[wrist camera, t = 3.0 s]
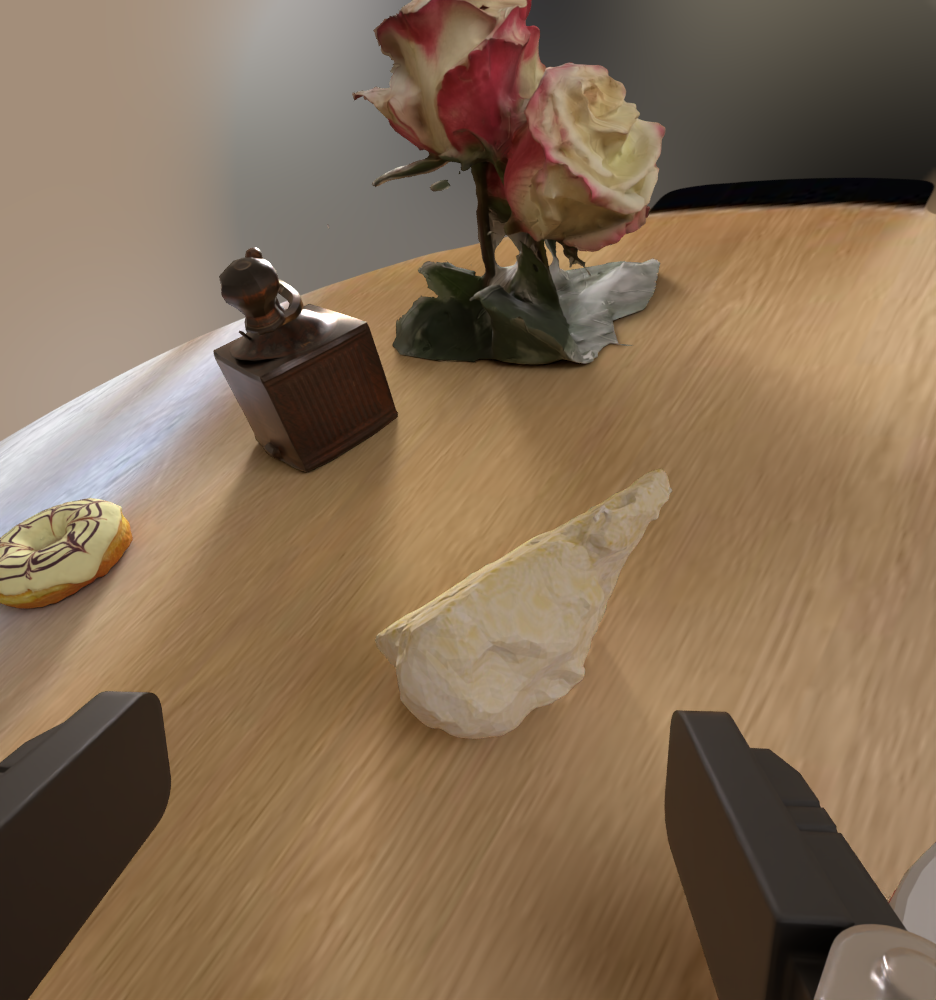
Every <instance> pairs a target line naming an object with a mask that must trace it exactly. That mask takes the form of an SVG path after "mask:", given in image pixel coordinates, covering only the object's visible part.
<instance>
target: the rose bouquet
mask: <svg viewBox="0 0 936 1000" xmlns="http://www.w3.org/2000/svg"><path fill="white" fill-rule="evenodd" d="M530 7H531V0H412V2H410V3H408V4H407V5H406V6H404V7H402V9H401V10H399V14H396V15H397V16H396V15H395V16H393V17H392V16H390V17H389V18H388V19H384V21H383V22H382V23H381V24H380V25H379V26H378V27H377V28H376V29H374V32H375V36H376V39H377V40H378V44H379V46H380V45H381V51H382V53H383V54H384V55H387V56H389V57H390V58H391V60H394V64H393V65H394V66H393V67H392V69H391V71H390V72H392V73H393V75H392V76H391V80H390V83H389V85H390V88H382V89H380V88H378V87H374V88H373V89H371V90H368V91H360V92H357V93H356V94H355V93H354V94H352V95H353V98H354V100H356V99H357V98H359V97H362V96H364V99H365V100H368V101H370V102H371V103H373V104H374V105H375V107H376V108H377V109H378V110H379V111H380V112H381V113H382V114H383V115H384V116H385V117H386V118H387V119H388V120H389V123H390V125H391V126H392V128H393V129H394V130H395V131H396V132H397V133H399V134H400V135H401V136H403V137H404V138H406V139H407V140H409V141H410V142H411V143H413V144H414V145H415V146H417V147H418V148H419V150H427V151H428V152H429V156H428V158H426V159H424V160H419V161H416V162H413V163H411V164H409V165H407V166H402V167H398V168H396V169H394V170H391V171H389V172H387V173H386V174H384V175H382V176H380V177H379V178H377V179H376V180H375V181H374V182H373V183H372V185H373V186H375V187H376V186H379V185H381V184H383V183H385V182H387V181H389V180H395V179H400V178H405V177H412V176H416V175H420V174H426V173H430V172H433V171H435V170H437V169H439V168H440V167H443V166H444V165H446V164H447V163H448V162H457V163H461V170H462V171H466V170H468V169H469V168H470V167H471V173H472V175H473V178H474V181H475V184H476V195H477V199H478V207H477V211H476V213H477V214H476V215H477V223H478V239H479V242H480V245H481V252H482V259H483V262H484V264H485V269H486V272H485V274H484V275H483V276H482V277H479V276H475V271H471V270H467V269H462V268H458V267H455V266H454V265H452V264H451V263H449V262H447V263H446V262H443V263H440V262H437V263H434V262H430V261H428V262H425V263H424V264H423V266H422V268H419V270H418V272H419V273H421V274H423V275H424V277H425V278H426V281H427V284H428V288H429V289H431V290H432V291H434V292H435V293H436V295H438V297H437V298H434V297H432V298H431V297H422V295H421V297H420V298H418V300H417V301H415V302H414V303H413V306H412V307H411V308H410V309H409V311H408V312H407V313H406V314H405V315H402V318H401V317H400V319H399V321H398V319H397V321H396V339H395V341H394V343H393V347H394V348H396V349H397V351H398V352H399V354H402V355H408V356H414V357H420V358H426V359H432V360H459V361H472V362H474V361H475V360H477V359H479V358H481V359H497V360H500V361H503V362H510V363H518V364H547V363H551V362H555V361H558V360H561V359H565V360H569V361H573V362H577V363H590V362H593V359H594V358H596V357H597V356H598V352H599V351H601V349H602V347H604V346H606V345H608V344H610V343H613V344H618V341H617V338H616V335H615V332H614V326H613V320H615V319H618V318H621V317H624V316H626V315H629V314H632V313H635V312H638V311H640V310H643V309H644V308H645V307H646V305H647V304H648V302H649V299H650V298H651V297H652V296H653V294H654V293H653V292H654V291H655V290H654V289H655V288H656V287H655V286H656V282H655V281H657V275H658V274H657V273H658V271H659V265H660V262H658V261H657V260H655V259H651V260H648V261H646V262H644V263H636V262H625V261H621V262H611V263H606V264H603V265H598V266H592V267H586V268H585V262H583V261H582V260H580V259H579V258H578V256H577V251H578V250H579V251H591V252H594V251H598V250H600V249H601V248H603V247H605V246H608V245H612V244H615V243H617V242H619V241H620V239H621V238H622V237H623V236H624V235H625V234H628V233H632V232H634V231H636V230H638V229H639V228H640V227H641V226H643V225H644V224H645V223H646V218H647V217H648V215H649V213H648V212H649V209H650V207H648V206H646V205H647V204H648V203H649V202H650V197H651V194H652V192H653V189H654V186H655V184H656V182H657V179H658V172H659V168H657V166H656V161H657V159H658V158H659V156H660V153H661V140H662V138H663V136H664V134H665V127H664V126H662V125H660V124H659V123H655V122H646V121H643V120H640V119H637V118H638V116H639V115H640V113H639V112H638V111H637V110H636V105H635V104H633V103H626V102H625V101H624V98H625V94H626V90H625V88H624V86H623V84H622V83H621V82H618V81H615V80H613V79H612V78H611V77H609V75H608V70H607V69H606V68H604V67H602V66H599V65H576V64H573V63H566V64H564V65H561V66H558V67H548V68H546V67H545V65H543V64H542V63H541V61H540V58H539V53H538V45H539V42H538V41H539V38H540V30H539V29H538V28H537V27H536V26H526V23H525V20H526V18H527V16H528V14H529V11H530ZM459 174H460V171H459ZM447 181H448V180H441V181H439V182H436V183H434V184H432V185H431V187H430V188H431V190H432V191H441V190H444V189H447V188H449V186H450V184H449V183H448V182H447ZM327 226H328V228H329V225H327ZM505 235H507V236H508V237H509V238H510V239H511V240H512V241H513V243H514V244H515V246H516V247H517V248H518V250H519V252H520V253H519V255H517V256H516V258H517V261H516V263H515V265H513V266H509V267H500V266H499V265H497V263H496V261H495V256H494V252H495V249H496V247H497V246H498V245H499V243H500V242H501V241H502V239H503V238H504V236H505ZM544 241H545V244H546V246H547V248H548V249H549V250H550V252H551V253H552V255H553V262H552V264H551V265H550V266H548V259H547V256H546V249H545V247H544ZM556 241H557V242H558V243H560V244H561V245H562V246H563V248H564V250H563V252H564V255H565V256H566V257H567V258H569V262H570V267H571V266H572V264H576V263H578V264H580V265H581V266H583V267H584V268H579V269H573V270H567V271H564V270H562V269H560V268H559V260H558V258H557V257H556ZM445 261H446V260H445ZM618 345H624V344H618ZM624 346H632V345H624Z"/></svg>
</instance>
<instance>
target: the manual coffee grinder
mask: <svg viewBox="0 0 936 1000" xmlns="http://www.w3.org/2000/svg"><path fill="white" fill-rule="evenodd" d="M219 278H220V282H221V291H222V292H221V294H222V297H223V298H224V300H225V301H226V303H228V304H229V305H231V306H233V307H235V308H237V309H238V310H239V311H240V312H242V313H243V314H244V315H245V317H246V318H245V328H246V331H247V333H246V334H245V333H244V332H242V331H239V333H240V334H241V335H242V337H240V338H238V339H236V340H234V341H232V342H230V343H228V344H226V345H224V346H222V347H220V348H218V349H216V350H214V351H213V352H214V356H215V359H216V361H217V363H218V365H219V367H220V369H221V371H222V373H223V375H224V376H225V378H226V380H227V382H228V384H229V386H230V388H231V390H232V392H233V393H234V395H235V397H236V399H237V401H238V403H239V405H240V407H241V408H242V410H243V412H244V414H245V416H246V418H247V420H248V422H249V424H250V426H251V428H252V430H253V431H254V434H255V438H256V440H257V441H258V442H259V443H260V444H261V445H262V446H263V447H264V450H265V451H266V453H268V454H269V455H270V456H272V457H274V458H276V459H278V460H280V461H283V462H285V463H287V464H288V465H290V466H292V467H293V468H296V469H299V470H301V471H304V472H308V471H311V470H313V469H315V468H317V467H319V466H321V465H323V464H325V463H327V462H330V461H332V460H334V459H335V458H337V457H338V456H340V455H342V454H343V453H345V452H346V451H348V450H350V449H351V448H353V447H354V446H356V445H358V444H359V443H361V442H362V441H364V440H366V439H367V438H369V437H371V436H372V435H374V434H375V433H377V432H378V431H379V430H381V429H382V428H383V427H385V426H386V425H387V424H389V423H390V422H391V421H393V420H394V419H395V418H397V417H398V413H397V411H396V409H395V406H394V402H393V399H392V396H391V392H390V389H389V386H388V383H387V380H386V377H385V373H384V370H383V367H382V364H381V361H380V358H379V355H378V352H377V349H376V346H375V343H374V340H373V337H372V334H371V332H370V329H369V326H368V324H367V322H365V321H362V320H359V319H356V318H353V317H350V316H347V315H343V314H340V313H337V312H334V311H331V310H328V309H324V308H321V307H318V306H315V305H312V304H308V305H306V306H304V307H303V303H302V300H301V297H300V295H299V293H298V292H297V291H296V290H295V289H294V288H292V287H291V286H290V285H288V284H286V283H284V282H283V281H282V280H280V279H279V278H278V275H277V272H276V269H275V268H274V267H273V266H272V265H271V264H270V263H269V262H268V261H266V260H264V259H263V257H262V254H261V251H260V250H259V249H257V248H250V249H249V250H247V251H246V254H245V258H241V259H238V260H235V261H233V262H232V263H231V264H230V265H229V266H228V267H227V268H226V269H225V270H224V272H223V273H222V274H221V275H220V276H219ZM278 293H279V294H280V295H282V296H283V297H284V298H286V299H287V300H288V302H289V304H290V305H289V307H288V309H284V308H283V307H282V306H280V303H279V301H278V299H277V297H276V296H277V294H278Z"/></svg>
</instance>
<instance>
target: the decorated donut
mask: <svg viewBox="0 0 936 1000" xmlns="http://www.w3.org/2000/svg"><path fill="white" fill-rule="evenodd" d="M131 541H132V534H131V531H130V525H129V522H128V521H127V520H126V519H125V518H124V516H123V514H122V508H121V507H120V506H118V505H115V504H113V503H110V502H108V501H104V500H99V499H92V498H88V499H82V500H78V501H72V502H67V503H64V504H61V505H57V506H54V507H51V508H49V509H46V510H44V511H42V512H40V513H38V514H36V515H34V516H32V517H30V518H29V519H27V520H25V521H24V522H22V523H20V524H18V525H16V526H15V527H14V528H12V529H11V530H10V531H9V532H8V533H6V534H5V535H3V536H2V537H1V538H0V603H1V604H4V605H7V606H11V607H15V608H35V607H44V606H47V605H49V604H52V603H57V602H59V601H61V600H62V599H64V598H65V597H67V596H70V595H72V594H74V593H76V592H77V591H79V590H80V588H82V587H85V586H86V585H88V584H90V583H92V582H93V581H94V580H95V579H96V578H98V577H102V576H105V575H106V574H107V573H108V572H109V570H110V568H111V567H112V566H113V565H115V564H116V563H117V562H118V561H119V559H120V558H121V557H122V555H123V553H124V551H125V550H126V549H127V548H128V547H129V546H130V543H131Z"/></svg>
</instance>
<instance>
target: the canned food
mask: <svg viewBox="0 0 936 1000" xmlns="http://www.w3.org/2000/svg"><path fill="white" fill-rule="evenodd" d="M888 903H889V904H890V906H891V907H892V909H893V910H894V912H895V913H896V915H897V916H898V918H899V919H900V920H901V922H902V923H903V925H904V926H905V928H906V929H907V931H909V932H912V933H914V934H916V935H919V936H921V937H923V938H926V939H928V940H930V941H931V942H933V943H935V944H936V842H935V843H934V844H933V845H932V846H931V847H930V848H929V849H928V850H927V851H926V852H925V853H924V854H923V855H922V856H921V857H920V858H919V859H918V860H917V861H916V862H915V863H914V864H913V865H912V866H911V867H910V868H909V869H908V870H907V872H906V873H905V874H904V876H903V878H902V879H901V881H900V883H899V885H898V887H897V889H896V890H895V891H894V893H893V895H892V897H891V899H890V901H889V902H888Z"/></svg>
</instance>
